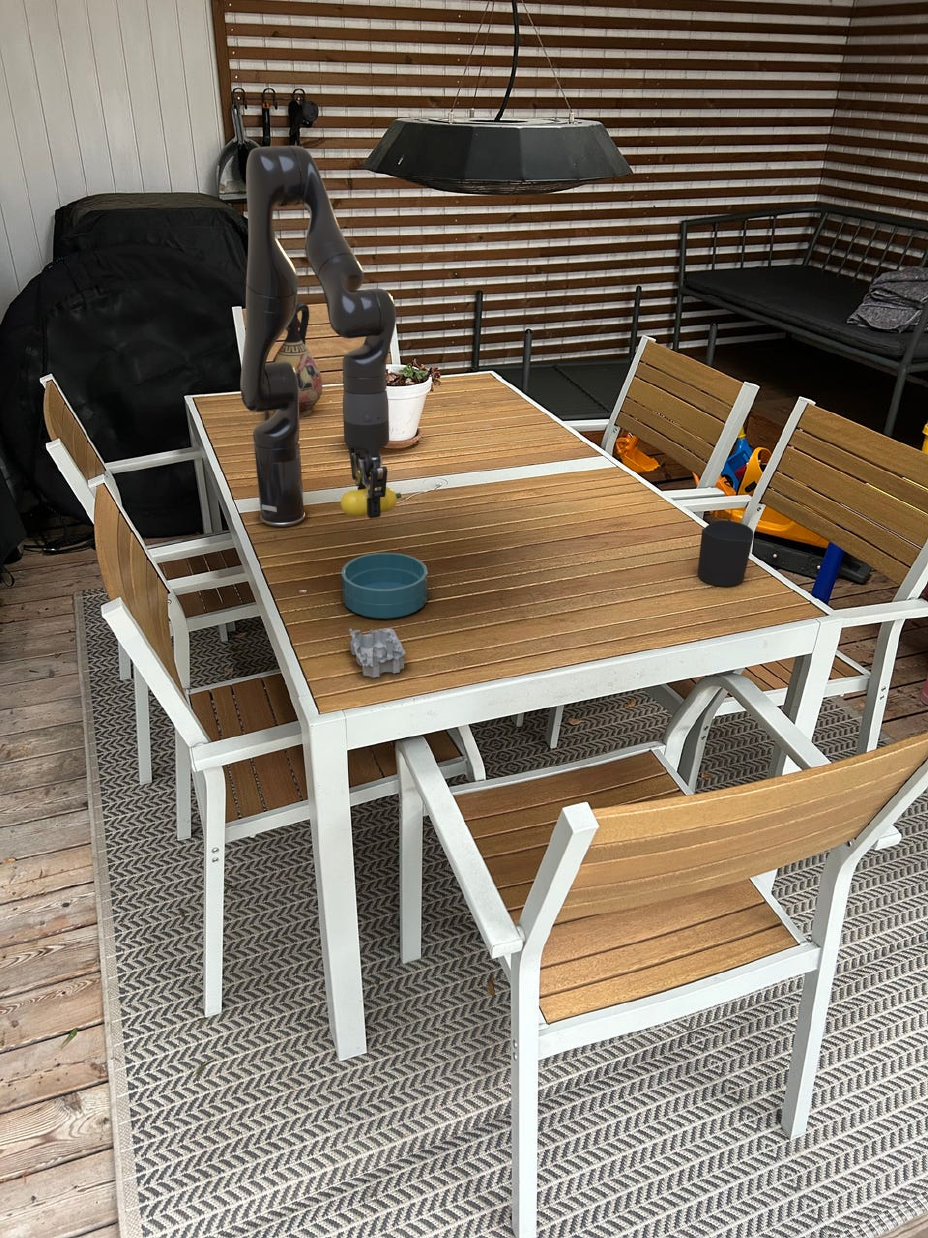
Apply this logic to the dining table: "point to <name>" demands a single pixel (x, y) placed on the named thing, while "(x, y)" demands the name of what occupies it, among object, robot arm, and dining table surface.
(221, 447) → the dining table surface
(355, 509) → the squash
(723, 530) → the pen holder
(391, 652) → the egg carton
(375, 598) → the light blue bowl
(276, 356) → the ceramic jug
